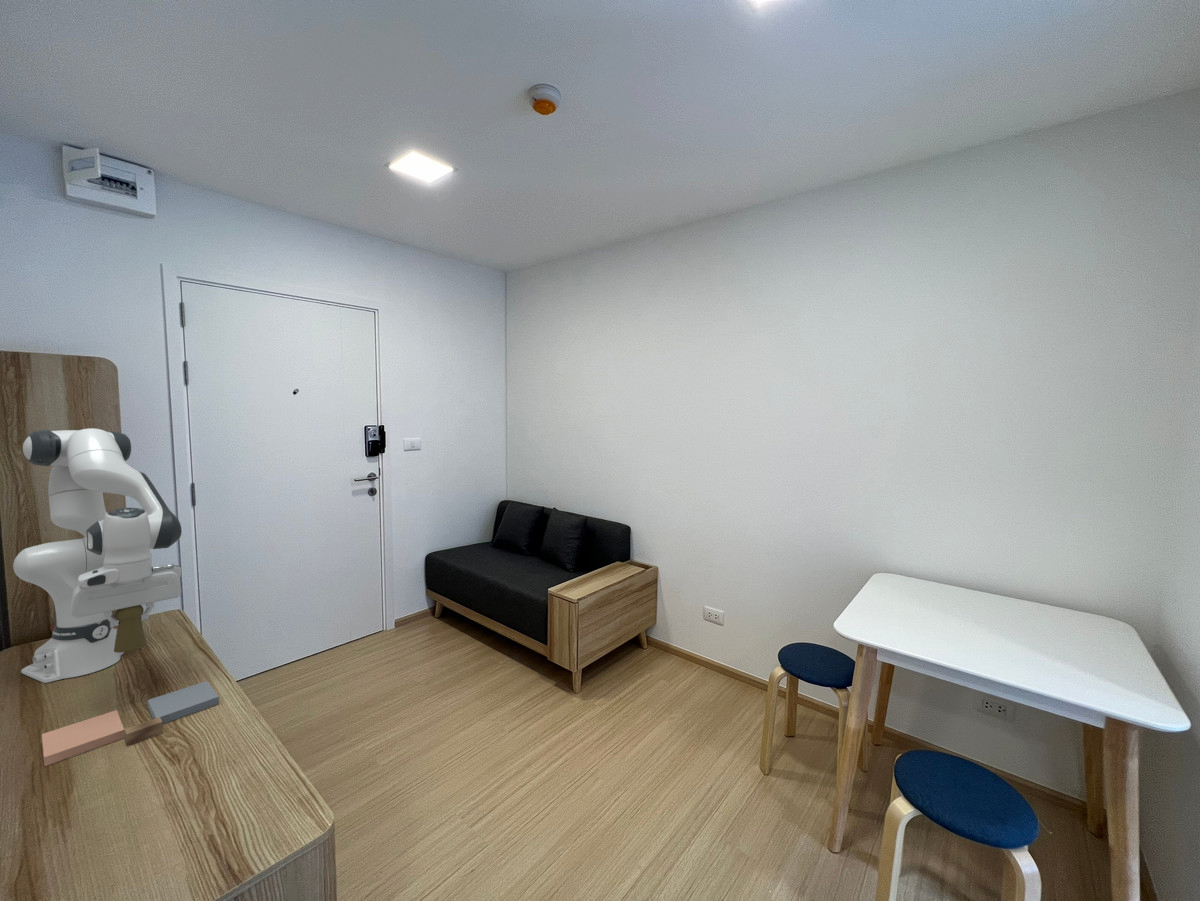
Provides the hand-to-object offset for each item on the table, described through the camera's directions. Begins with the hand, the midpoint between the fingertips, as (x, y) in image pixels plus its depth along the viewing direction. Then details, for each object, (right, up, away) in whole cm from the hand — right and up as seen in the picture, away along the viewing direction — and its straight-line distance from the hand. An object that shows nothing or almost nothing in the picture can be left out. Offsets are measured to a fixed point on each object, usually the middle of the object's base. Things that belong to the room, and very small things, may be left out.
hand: (129, 623), depth 121 cm
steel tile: (+14, -22, 0) cm, 26 cm away
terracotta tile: (+3, -22, -14) cm, 26 cm away
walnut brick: (+16, -22, -12) cm, 30 cm away
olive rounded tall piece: (0, -7, 0) cm, 7 cm away
